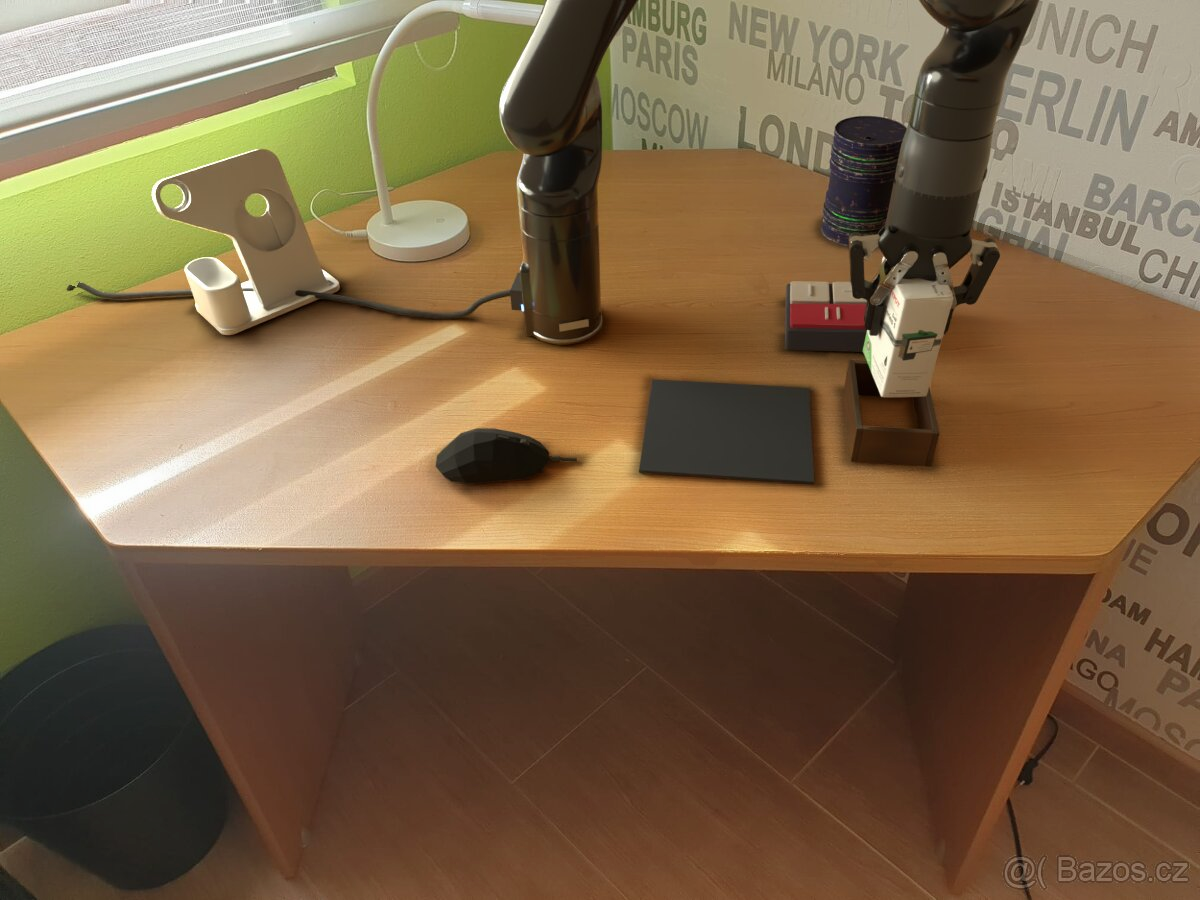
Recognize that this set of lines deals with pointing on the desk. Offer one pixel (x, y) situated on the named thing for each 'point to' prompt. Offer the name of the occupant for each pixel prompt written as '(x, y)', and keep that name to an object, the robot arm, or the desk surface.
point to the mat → (728, 432)
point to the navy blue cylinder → (861, 176)
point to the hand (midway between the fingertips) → (903, 332)
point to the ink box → (908, 337)
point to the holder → (887, 441)
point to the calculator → (823, 317)
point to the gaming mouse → (493, 457)
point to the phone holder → (247, 241)
